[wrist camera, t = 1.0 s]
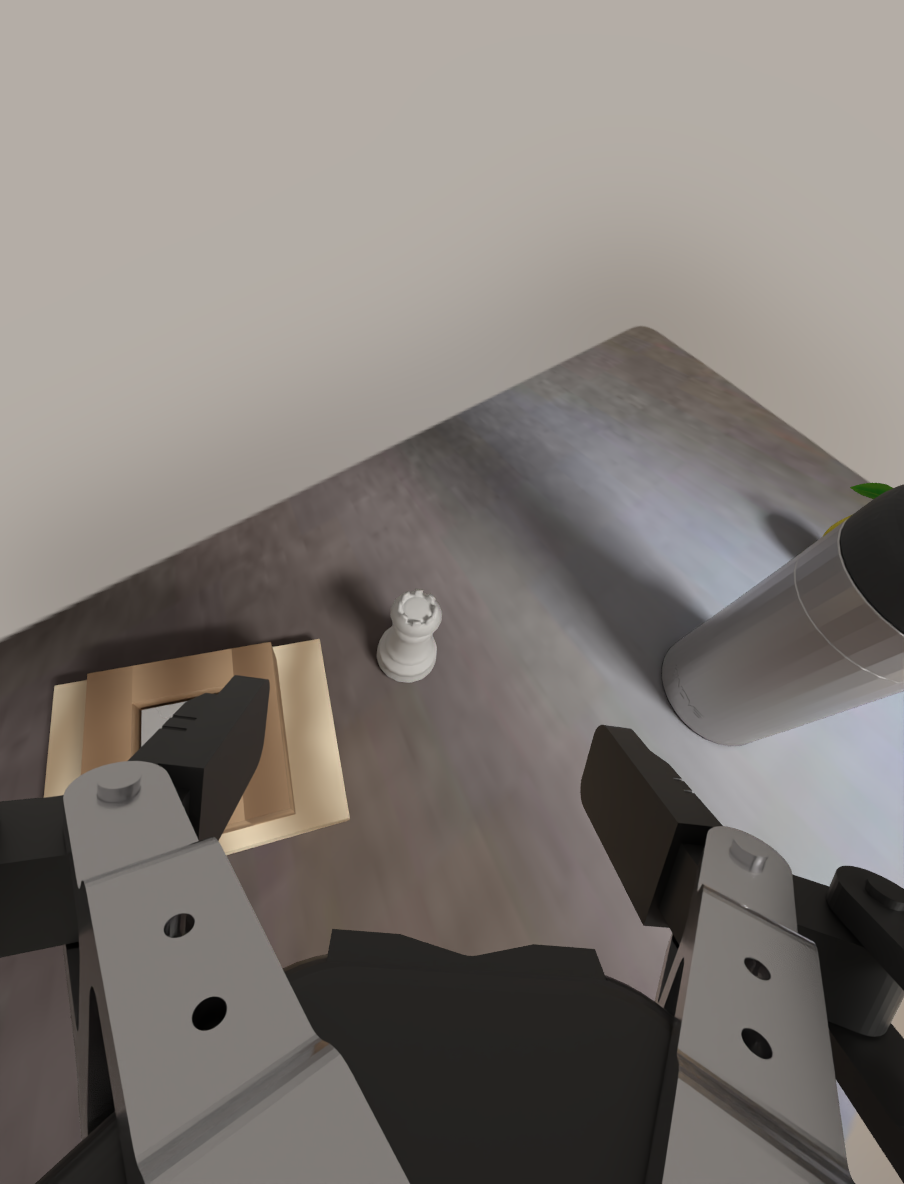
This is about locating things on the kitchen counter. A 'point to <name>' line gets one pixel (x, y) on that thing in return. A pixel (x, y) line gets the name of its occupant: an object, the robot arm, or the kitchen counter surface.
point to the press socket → (296, 699)
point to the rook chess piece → (410, 637)
